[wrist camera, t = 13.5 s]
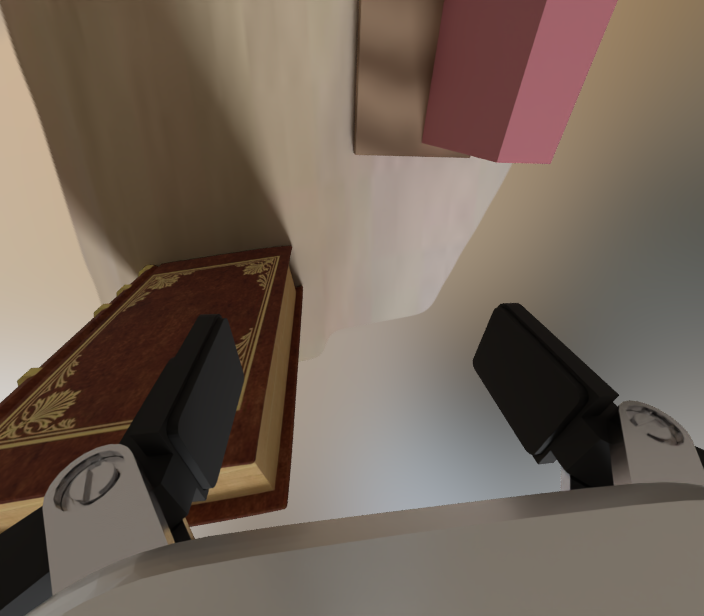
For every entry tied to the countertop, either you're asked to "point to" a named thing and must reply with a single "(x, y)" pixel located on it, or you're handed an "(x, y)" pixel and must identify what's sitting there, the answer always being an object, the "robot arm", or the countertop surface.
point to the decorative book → (143, 371)
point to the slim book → (510, 75)
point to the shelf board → (395, 77)
